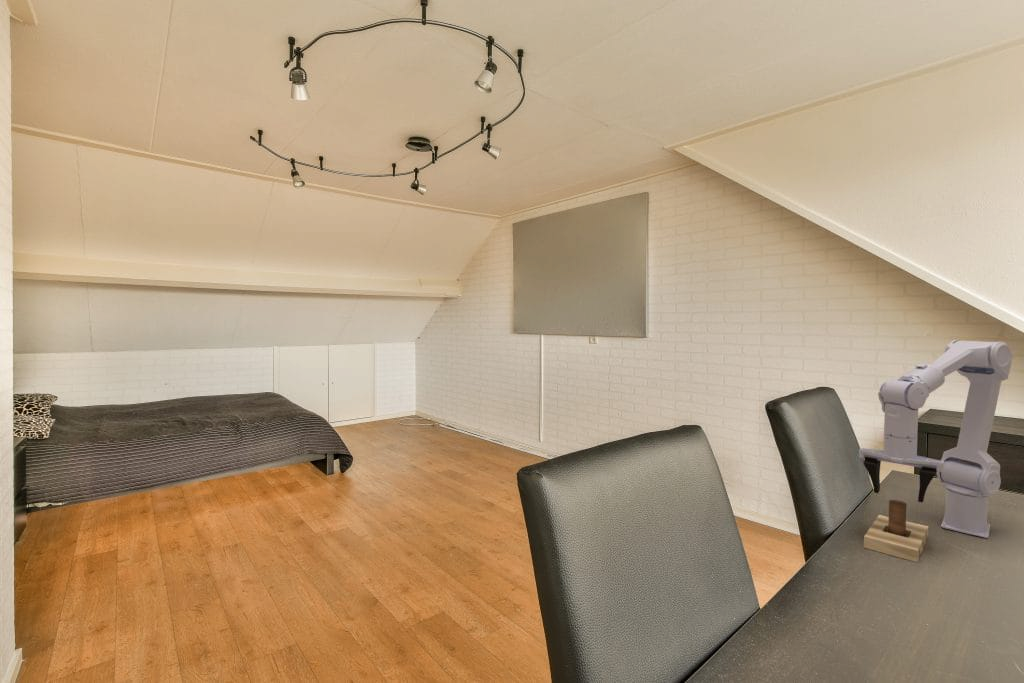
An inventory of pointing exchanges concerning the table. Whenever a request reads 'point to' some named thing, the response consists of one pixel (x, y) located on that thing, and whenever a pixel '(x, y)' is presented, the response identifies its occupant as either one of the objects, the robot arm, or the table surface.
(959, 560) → the table surface
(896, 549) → the socket block
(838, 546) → the table surface
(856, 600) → the table surface
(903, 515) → the peg
